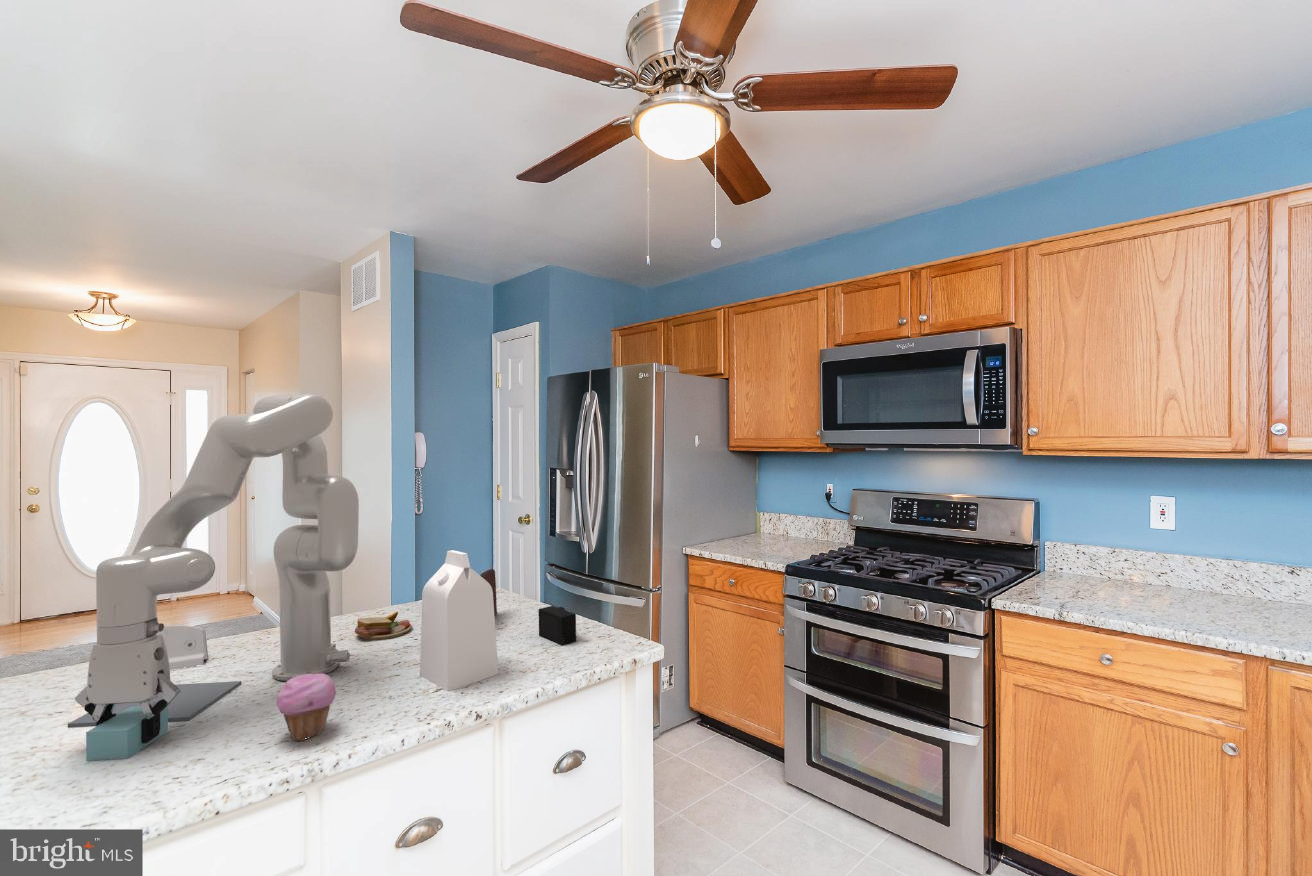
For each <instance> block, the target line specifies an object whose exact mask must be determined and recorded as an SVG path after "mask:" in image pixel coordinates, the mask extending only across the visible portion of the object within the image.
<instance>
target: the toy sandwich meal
mask: <svg viewBox="0 0 1312 876" xmlns="http://www.w3.org/2000/svg"><path fill="white" fill-rule="evenodd" d="M398 614H399V612H398V611H395V612H393V613H392V614H389V615H386V616H381V617H380V616H379V617H378V616H377V617H359V618H357V626H356V627H355V629H354V633H355V634H356V635H358V636H360V637H362V638H363V639H366V640H371V641H374V640H377V641H378V640H388V639H394V638H397V637H398V638H399V637H400V636H403V635H405V634H407V633H408V632H410V630H411V629H412V627H413V625H412V624H411V623H410V622H411V621H410V620H409V619H403V620H400V621H397V620H396V619H397V618H398Z"/></svg>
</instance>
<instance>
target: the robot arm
mask: <svg viewBox="0 0 1312 876" xmlns="http://www.w3.org/2000/svg"><path fill="white" fill-rule="evenodd" d="M331 405H332V404H330V403H329V400H327V399H326V398H324V397H323V396H321V395H319V394H314V393H298V394H297V393H296V394H275V395H269V396H265V397H263V398H260V399H259V400H258V401H257V402H256V403H255V404H254V406H253V409H252V411H253V412H252V413H237V414H227V415H224V416H221V417H218V418H217V419H216V420H214V421H213V422H212V423H211V425H210V426H209V429H208V431H207V432H206V434H205V437H204V439H203V442H202V443H201V446H200V448H199V451H198V452H197V454H196V457H195V459H194V461H193V463H192V466H191V467H190V470H189V472H188V475H187V476H186V479H185V481H184V483H183V484H182V487H181V488H180V489H179V490H178V491H176V493H175V494H174V495H172V496H171V497H170V498H168V500H167V501H166V502H165V503H164V504H163V505H162V506H161V507H160V508H159V509H158V510H157V511H156V512H155V514H153V516H151V518H150V519H149V521H148V522H147V523H146V525H145V527H144V528H143V530H142V532H141V534H140V536H139V538H138V540H137V543H136V544H135V546H134V549H133V551H132V554H131V555H125V556H117V557H111V558H107V559H105V560H103V561H101V562H100V563H98V565H97V567H96V572H95V573H96V574H95V578H96V579H95V583H96V585H95V586H96V587H95V588H96V589H95V590H96V592H95V593H96V595H95V597H96V642H95V643H94V644H93V646H92V649H91V653H90V657H89V662H88V670H87V678H86V679H87V681H86V683H87V684H86V686H85V687H84V688H83V689H82V690H81V691H80V692H79V693H78V694H77V695H76V696H75V697H74V701H75V702H76V703H77V704H79V705H80V706H81V707H82V708H83V709H84V711H85V712H86V713H89V714H90V715H91V716H92V718H91V719H92V721H94V722H96V726H98V725H100V724H102V723H104V722H105V721H107V720H109V719H111V718H112V717H114V716H116V713H113V714H112V712H113V709H114V707H115V704H123V703H139V704H140V707H141V709H142V711H143V713H144V716H145V718H144V719H142V720H141V721H142V743H148V742H149V741H151V740H152V739H154V738H155V737H157V736H158V735H159V732H160V712H162V711H163V710H164V708H165V707H166V706H167V705H168V704H169V703H170V702H171V701H172V700H173V699H174V698H175V697H176V696H177V695H178V694H179V693H180V689H179V688H178V687H177V686H176V684H175V683H173V681H172V680H171V671H170V666H169V658H168V652H167V648H166V644H165V641H164V638H163V635H157V633H158V632H161V631H162V630H163V629H164V626H165V623H162V622H161V623H159V621H158V596H160V595H167V594H168V595H169V594H180V593H186V592H187V593H188V592H191V591H195V590H197V589H200V588H202V587H204V586H205V585H206V584H208V583H209V581H211V580H212V578H213V576H214V575H215V572H216V563H215V560H214V559H213V557H212V556H211V555H210V553H208V552H205V551H203V550H200V549H197V548H188V547H183V546H184V543H185V542H186V539H187V538H188V536H189V534H190V533H191V532H192V530H193V529H194V528H195V527H197V525H198V524H199V523H201V522H202V521H203V520H204V519H206V518H207V517H209V516H210V515H212V514H214V513H217V512H219V511H221V510H222V509H224V508H226V507H227V506H229V505H231V504H232V503H234V502H235V501H236V499H237V498H238V496H239V492H240V491H241V489H242V485H243V483H244V480H245V479H246V476H247V473H248V471H249V469H250V466H251V464H252V462H253V460H254V458H270V457H274V456H278V455H279V454H281V457H282V491H281V492H282V496H281V498H282V500H281V501H282V508H283V510H284V511H285V513H286V514H287V515H288V516H290V517H291V518H296V519H302V520H303V519H304V520H317V524H297V525H292V526H290V527H287V528H285V529H283V530H282V531H281V532H280V533H279V534H278V535H277V537H276V538H275V542H274V544H273V550H272V551H273V560H274V563H275V567H276V571H277V577H278V585H279V587H278V589H279V636H280V637H279V638H280V640H279V641H280V642H279V644H280V646H279V647H280V648H279V649H280V650H279V651H280V652H279V653H280V663H279V664H278V665H276V666H274V667H273V669H272V672H271V676H272V678H273V679H275V680H278V681H282V682H283V681H285V682H287V681H288V680H290V679H292V678H294V677H297V676H300V675H305V674H326V675H327V674H328V673H331V672H332V671H334V670H335V669H336V668H338V666H339V665H340V663H344V662H346V663H347V662H349V661H350V658H351V653H350V652H349V649H342V650H338V649H337V648H336V647H337V645H336V643H332V636H331V635H332V632H331V631H332V628H331V585H330V580H329V576H328V574H327V572H339V571H343V570H345V569H347V568H348V567H349V566H351V564H352V563H353V561H354V560H355V558H356V556H357V553H358V546H359V523H360V522H359V518H360V517H359V514H360V513H359V510H360V509H359V508H360V503H359V493H358V491H357V489H356V487H355V485H354V484H353V483H352V482H351V480H349V479H348V478H346V477H344V476H342V475H331V474H330V475H329V468H328V467H329V466H328V464H329V463H328V451H327V448H326V445H325V442H324V440H323V439H322V437H321V434H323V433H324V432H325V431H327V429H328V428H330V425H331V424H332V421H333V418H334V417H333V415H334V414H333V413H334V412H333V408H332V406H331ZM161 692H164V694H165V695H164V697H163V698H162V699H161V698H160V696H159V694H158V693H161ZM150 701H151V703H152V705H153V707H152V705H151V703H150ZM96 726H95V727H96Z"/></svg>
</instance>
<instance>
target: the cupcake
mask: <svg viewBox="0 0 1312 876" xmlns="http://www.w3.org/2000/svg"><path fill="white" fill-rule="evenodd" d="M335 686H336V685H335V683H334V681H333V680H332V678H331V677H330V676H329V675H328V674H327V673H326V674H305V675H300V676H297V677H294V678H292V679H290V680H288V681H285V684H284V685H283V687H282V688H281V690H280V691H279V692H278V693H277V696H276V708H277V709H278V710H279V712H280V713H281V714H283V717H284V720H285V723H286V727H287V729H288V730H287V731H288V732H289V735H290V736H291V737H292V739H293V740H294V741H295V742H299V741H298V740H302V741H304V740H303V739H305V738H308V737H310V738H312V737H314V736H317V735H319V734H320V733H321V732H322V731H323V730H324V728H325V726H326V723H327V721H328V717H329V711H330V707H331V705H332V704H333V702H334V700H335V699H336V687H335ZM318 733H319V734H318ZM316 734H317V735H316ZM313 735H314V736H313ZM311 736H312V737H311ZM308 739H309V738H308ZM305 740H306V739H305Z"/></svg>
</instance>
